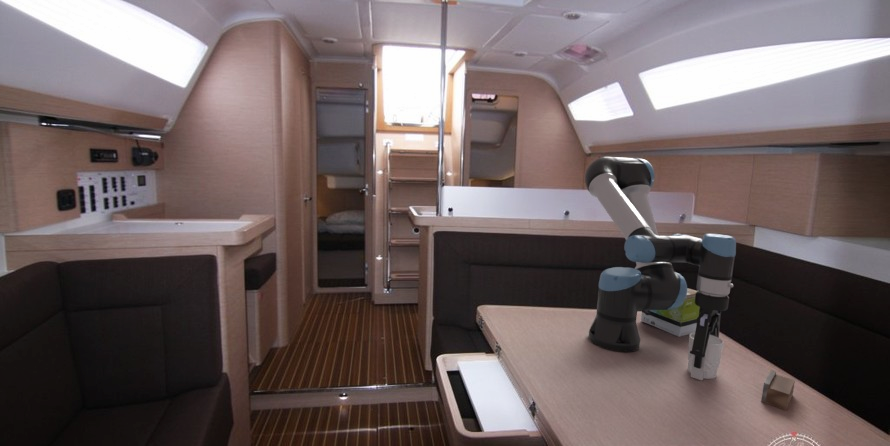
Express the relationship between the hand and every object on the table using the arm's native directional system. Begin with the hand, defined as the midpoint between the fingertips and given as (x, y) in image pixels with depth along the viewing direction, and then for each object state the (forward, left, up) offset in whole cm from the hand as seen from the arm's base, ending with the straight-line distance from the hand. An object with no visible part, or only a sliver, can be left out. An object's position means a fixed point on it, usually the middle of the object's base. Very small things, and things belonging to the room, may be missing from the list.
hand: (702, 372), depth 114 cm
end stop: (+16, 0, 0) cm, 16 cm away
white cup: (0, 0, -1) cm, 1 cm away
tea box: (-18, +29, -1) cm, 34 cm away
